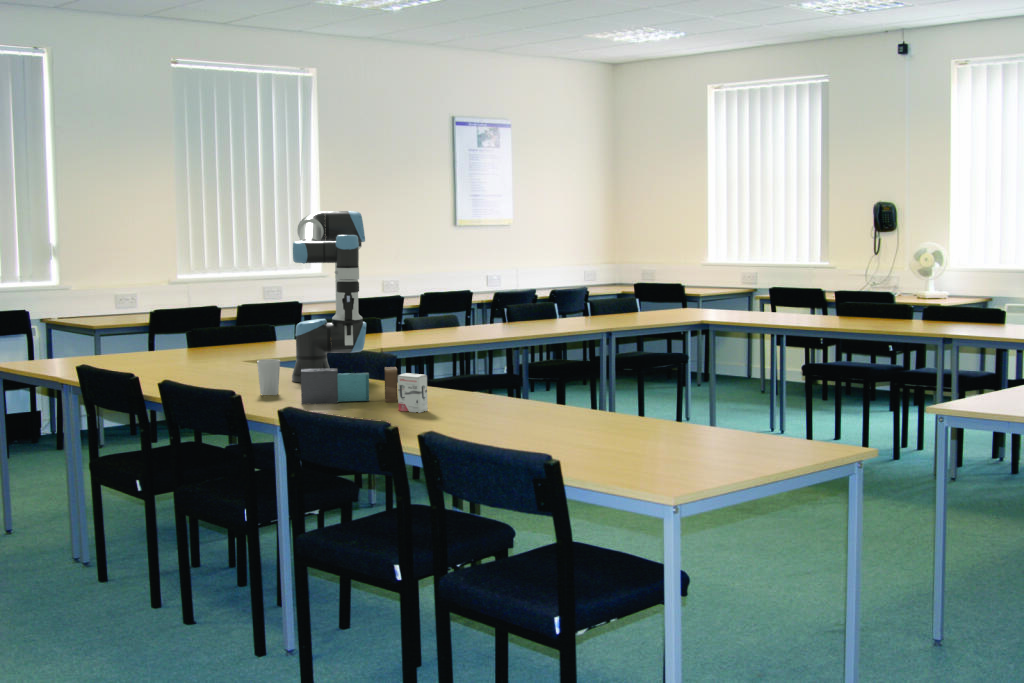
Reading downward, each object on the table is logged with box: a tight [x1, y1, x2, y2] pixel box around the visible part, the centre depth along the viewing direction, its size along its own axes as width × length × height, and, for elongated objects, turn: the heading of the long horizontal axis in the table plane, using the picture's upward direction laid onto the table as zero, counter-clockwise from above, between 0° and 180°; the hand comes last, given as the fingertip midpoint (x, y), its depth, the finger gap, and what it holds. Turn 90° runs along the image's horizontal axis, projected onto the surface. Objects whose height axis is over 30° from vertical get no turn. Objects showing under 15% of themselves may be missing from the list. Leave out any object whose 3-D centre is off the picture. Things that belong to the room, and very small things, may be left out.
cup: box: [256, 358, 281, 396], centre depth 384 cm, size 8×8×12 cm
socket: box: [384, 366, 398, 403], centre depth 371 cm, size 7×4×11 cm, turn 9°
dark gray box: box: [300, 367, 339, 405], centre depth 367 cm, size 7×12×11 cm, turn 99°
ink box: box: [397, 372, 429, 414], centre depth 350 cm, size 9×5×12 cm, turn 62°
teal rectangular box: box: [337, 372, 370, 402], centre depth 368 cm, size 4×22×9 cm, turn 99°
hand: (348, 343), depth 369 cm, fingers open, 13 cm apart
